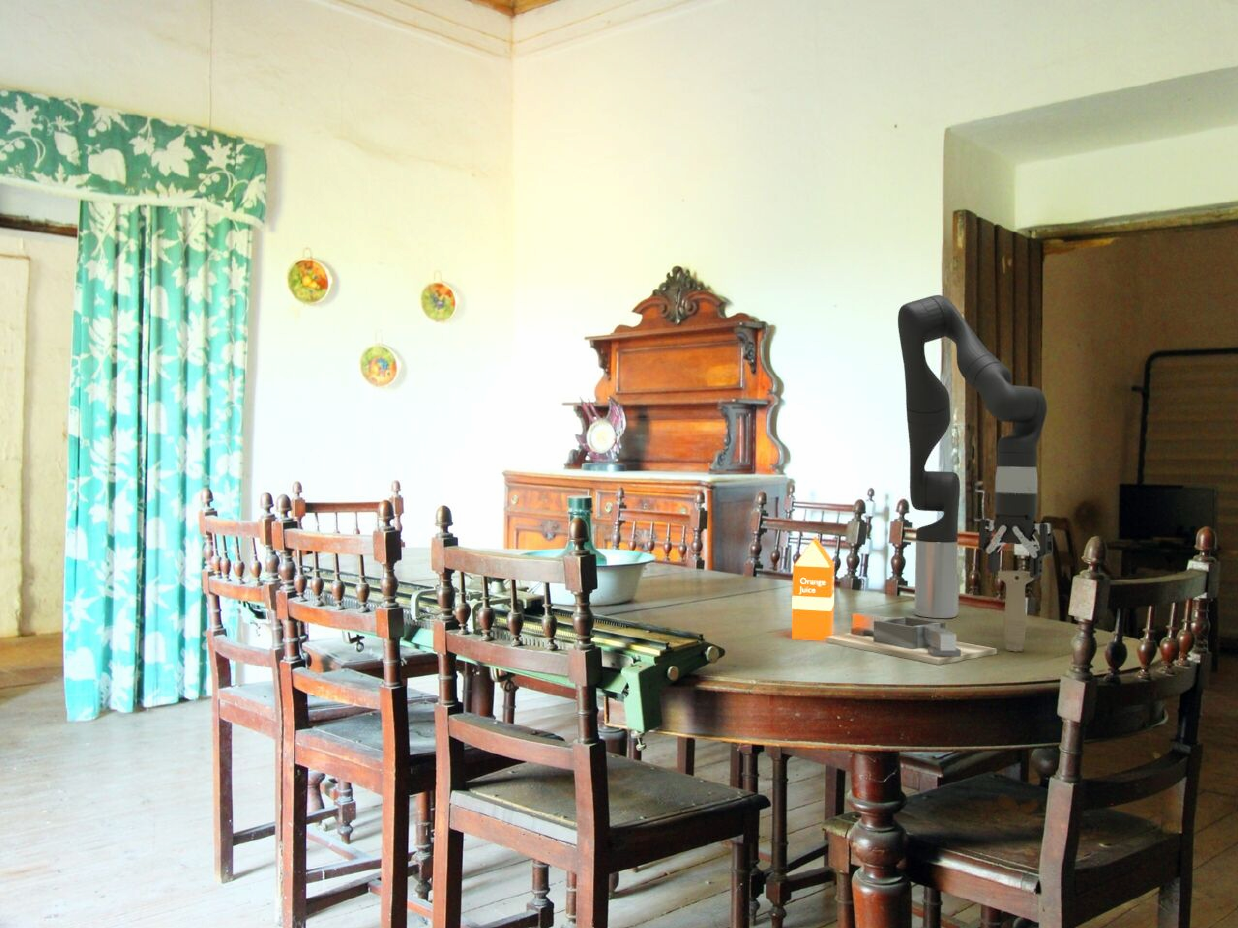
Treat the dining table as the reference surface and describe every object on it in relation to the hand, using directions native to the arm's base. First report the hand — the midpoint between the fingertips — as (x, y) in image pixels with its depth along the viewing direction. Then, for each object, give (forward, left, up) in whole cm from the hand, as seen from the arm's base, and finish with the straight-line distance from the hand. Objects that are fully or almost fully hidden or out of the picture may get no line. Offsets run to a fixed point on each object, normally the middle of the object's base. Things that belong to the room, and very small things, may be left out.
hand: (1014, 575), depth 197 cm
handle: (0, 0, -15) cm, 15 cm away
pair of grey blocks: (+17, -12, -13) cm, 25 cm away
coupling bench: (+15, -13, -14) cm, 24 cm away
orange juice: (+21, -32, -15) cm, 41 cm away
